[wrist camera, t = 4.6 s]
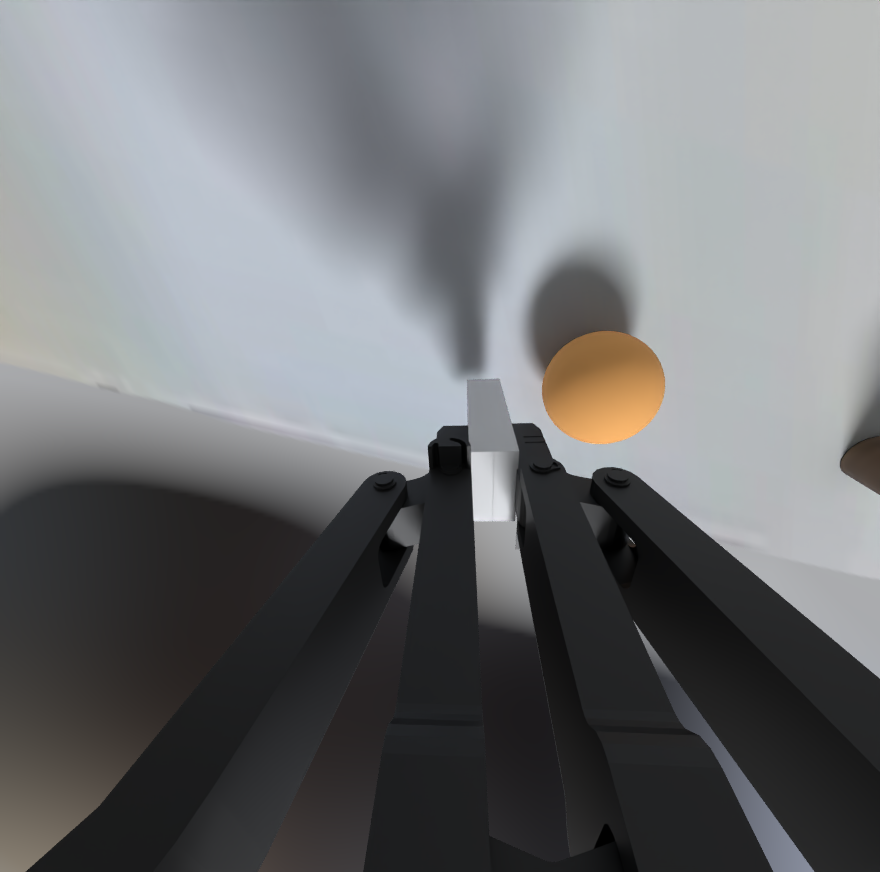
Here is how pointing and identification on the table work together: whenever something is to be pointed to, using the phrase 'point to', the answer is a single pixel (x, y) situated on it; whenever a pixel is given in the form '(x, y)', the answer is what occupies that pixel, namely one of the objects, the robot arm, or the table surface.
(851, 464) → the post
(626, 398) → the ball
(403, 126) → the table surface
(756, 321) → the table surface
